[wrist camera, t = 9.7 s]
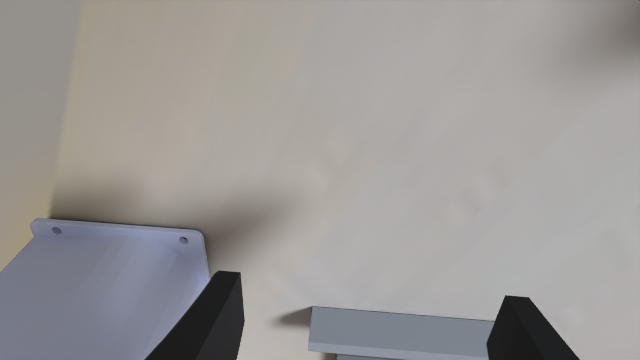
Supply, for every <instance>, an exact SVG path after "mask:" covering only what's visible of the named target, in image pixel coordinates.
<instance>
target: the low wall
mask: <svg viewBox="0 0 640 360" xmlns="http://www.w3.org/2000/svg"><path fill="white" fill-rule="evenodd" d="M494 323H495V322H493V321H481V320H469V319H457V318H445V317H433V316H420V315H408V314H396V313H384V312H372V311H360V310H348V309H336V308H324V307H312V316H311V325H310V334H309V342H308V351H314V352H325V353H337V354H348V355H359V356H371V357H382V358H394V359H405V360H489V358H488V352H487V345H486V343H487V340H488V338H489V335H490V333H491V330H492V328H493V325H494Z"/></svg>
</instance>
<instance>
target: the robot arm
mask: <svg viewBox="0 0 640 360" xmlns="http://www.w3.org/2000/svg"><path fill="white" fill-rule="evenodd" d="M30 227H31V230H32V232H33V235H34V238H33V239H32V240H31V241H30V242H29V243H28V244H27V245H26V246H25V247H24V248H23V249H22V250H21V252H20V253H19V254H18V255H17V256H16V257H15V258H14V259H13V260H12V261H11V262H10V263H9V264H8V265H7V266H6V267H5V268H4V269H3V271H2V272H1V273H0V360H236V359H237V355H238V351H239V346H240V341H241V337H242V332H243V327H244V322H245V320H244V309H243V297H242V286H241V274H240V272H228V271H218V272H216V273H215V274H214V275H213V277H212V278H211V280H210V275H209V268H208V262H207V255H206V249H205V242H204V237H203V235H202V234H201V233H200V232H199V231H196V230H189V229H176V228H163V227H149V226H136V225H123V224H110V223H96V222H83V221H70V220H57V219H43V218H37V219H35V220H34V221H33V222H32V223H31V225H30ZM182 237H185V238H187V239H184V238H182ZM486 345H487V352H488V358H489V360H580V359H579V358H578V357H577V356H576V355H575V354H574V352H573V351H572V350H571V349H570V348H569V346H568V345H567V344H566V343H565V341H564V340H563V339H562V338H561V337H560V335H559V334H558V333H557V332H556V330H555V329H554V328H553V327H552V326H551V324H550V323H549V322H548V321H547V319H546V318H545V317H544V316H543V314H542V313H541V312H540V311H539V310H538V308H537V307H536V306H535V305H534V303H533V302H532V301H531V300H530V298H529V297H518V296H506V295H505V298H504V300H503V303H502V305H501V308H500V310H499V313H498V315H497V318H496V320H495V323H494V325H493V328H492V330H491V333H490V335H489V338H488V340H487V343H486Z"/></svg>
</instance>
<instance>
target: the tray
mask: <svg viewBox="0 0 640 360" xmlns="http://www.w3.org/2000/svg"><path fill="white" fill-rule="evenodd" d="M336 360H405V359H394V358H382V357H371V356H359V355H348V354H337V357H336Z"/></svg>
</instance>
